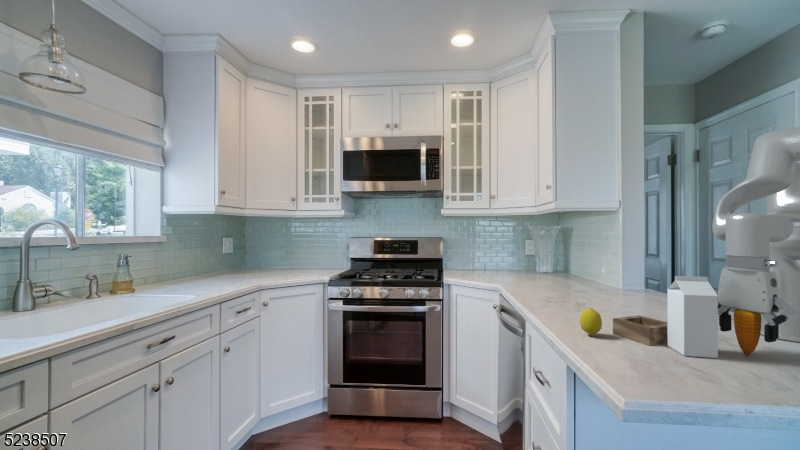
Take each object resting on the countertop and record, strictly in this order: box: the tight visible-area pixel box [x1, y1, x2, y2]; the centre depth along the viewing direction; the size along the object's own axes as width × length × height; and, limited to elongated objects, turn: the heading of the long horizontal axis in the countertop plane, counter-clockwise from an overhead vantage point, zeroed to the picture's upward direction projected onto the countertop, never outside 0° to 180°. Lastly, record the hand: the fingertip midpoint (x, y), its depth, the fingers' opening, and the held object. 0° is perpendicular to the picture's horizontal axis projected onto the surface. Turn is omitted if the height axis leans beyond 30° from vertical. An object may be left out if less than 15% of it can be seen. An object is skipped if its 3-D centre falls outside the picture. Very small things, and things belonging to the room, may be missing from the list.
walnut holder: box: [612, 315, 668, 347], centre depth 97 cm, size 11×11×4 cm
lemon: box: [579, 307, 603, 337], centre depth 98 cm, size 6×6×8 cm
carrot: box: [733, 309, 761, 357], centre depth 83 cm, size 5×5×15 cm
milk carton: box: [666, 275, 719, 359], centre depth 85 cm, size 7×7×19 cm
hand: (747, 335), depth 83 cm, fingers open, 7 cm apart
